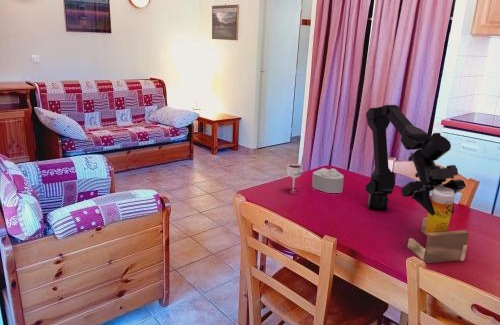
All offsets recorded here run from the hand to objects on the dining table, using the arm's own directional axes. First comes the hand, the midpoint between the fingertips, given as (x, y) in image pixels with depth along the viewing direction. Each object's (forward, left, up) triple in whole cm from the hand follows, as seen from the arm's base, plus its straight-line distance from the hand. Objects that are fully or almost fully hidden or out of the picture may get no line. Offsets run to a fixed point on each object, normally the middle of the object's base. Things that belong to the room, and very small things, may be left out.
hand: (442, 214), depth 114 cm
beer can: (0, +1, -8) cm, 8 cm away
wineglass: (-45, +42, -13) cm, 63 cm away
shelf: (-2, +5, -13) cm, 14 cm away
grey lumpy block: (-30, +49, -14) cm, 59 cm away
